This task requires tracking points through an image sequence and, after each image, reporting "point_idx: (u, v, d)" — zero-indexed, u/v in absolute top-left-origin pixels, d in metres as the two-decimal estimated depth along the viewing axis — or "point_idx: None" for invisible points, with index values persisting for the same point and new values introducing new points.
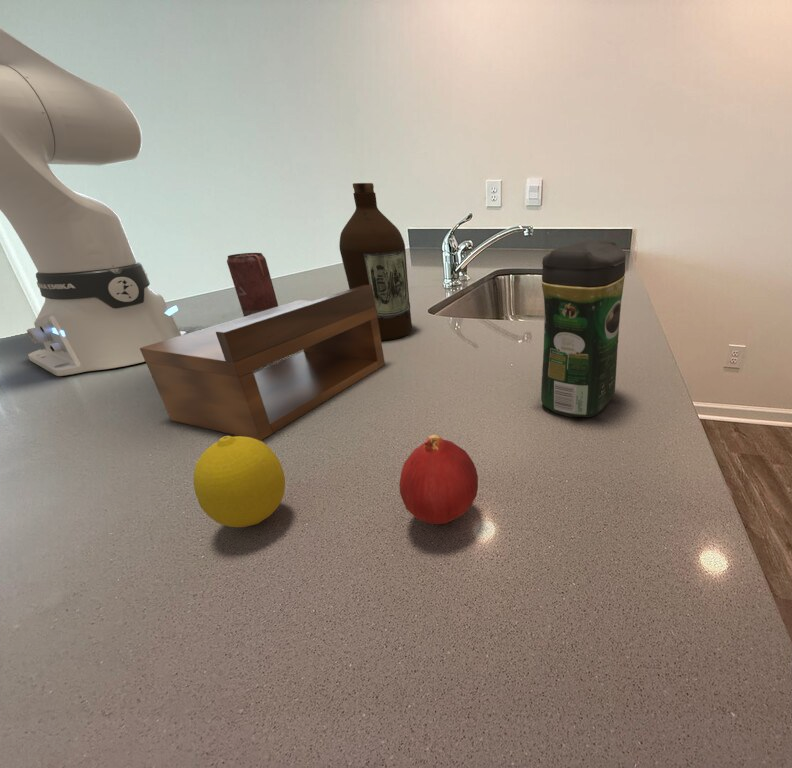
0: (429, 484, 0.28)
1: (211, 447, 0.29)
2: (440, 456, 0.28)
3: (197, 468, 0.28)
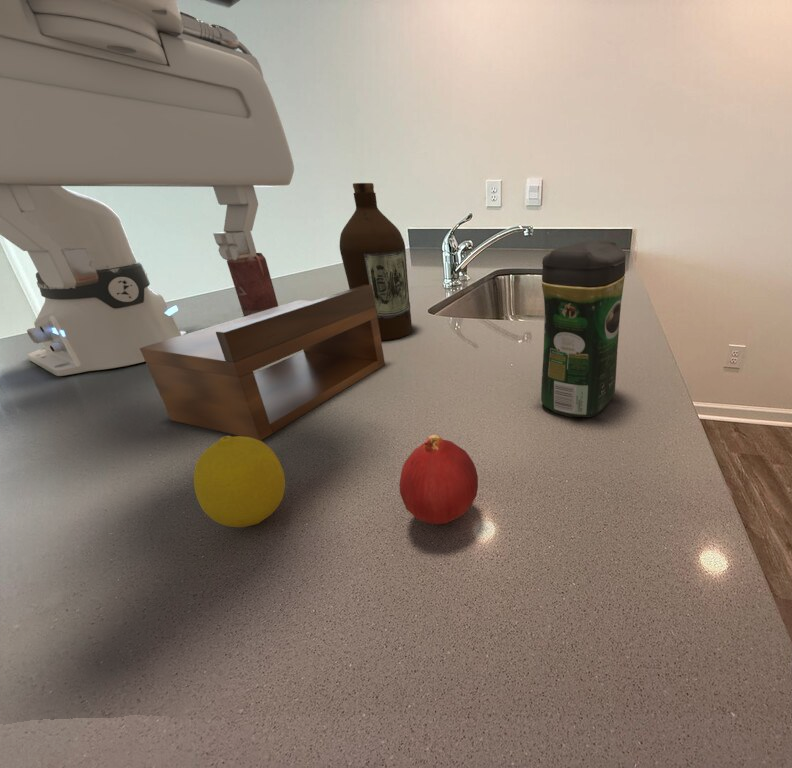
0: (429, 484, 0.28)
1: (211, 447, 0.29)
2: (440, 456, 0.28)
3: (197, 468, 0.28)
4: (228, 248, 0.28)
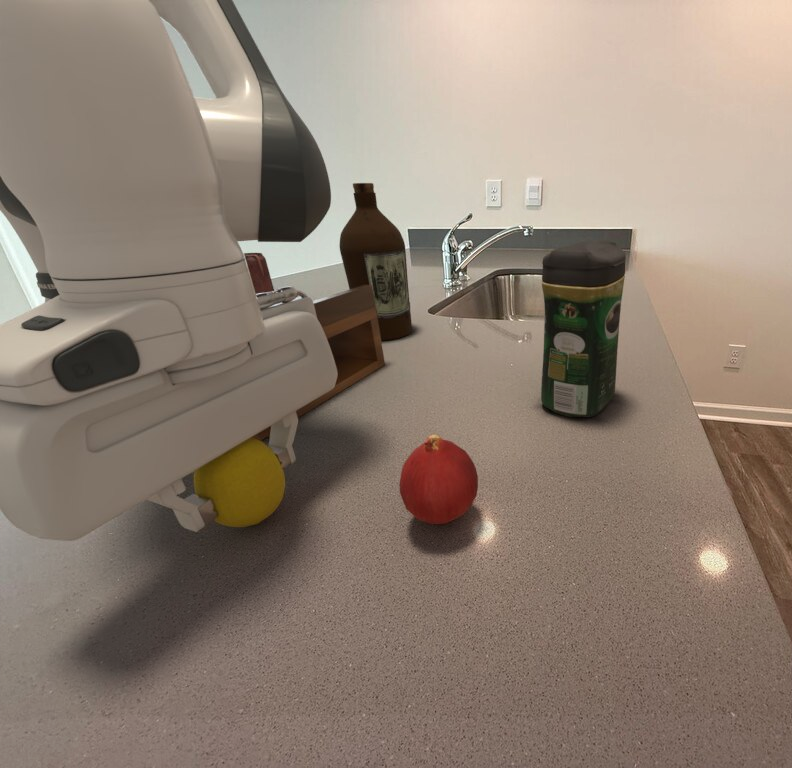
0: (429, 484, 0.28)
1: None
2: (440, 456, 0.28)
3: None
4: None
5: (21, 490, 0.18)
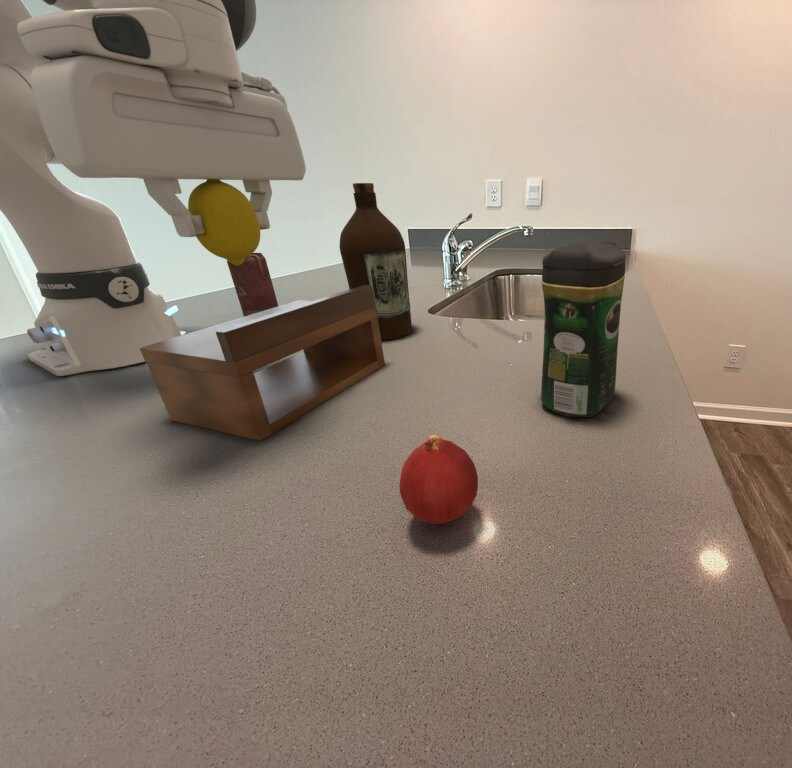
0: (429, 484, 0.28)
1: (201, 183, 0.38)
2: (440, 456, 0.28)
3: (191, 194, 0.37)
4: None
5: (70, 114, 0.27)
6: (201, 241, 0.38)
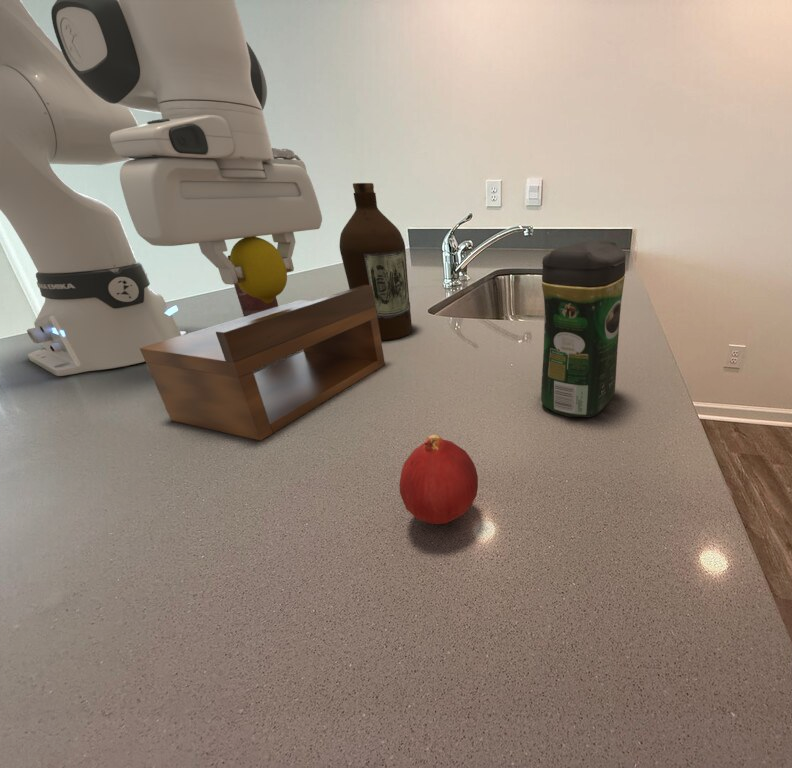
0: (429, 484, 0.28)
1: None
2: (440, 456, 0.28)
3: (232, 249, 0.45)
4: None
5: (151, 202, 0.36)
6: (240, 286, 0.47)
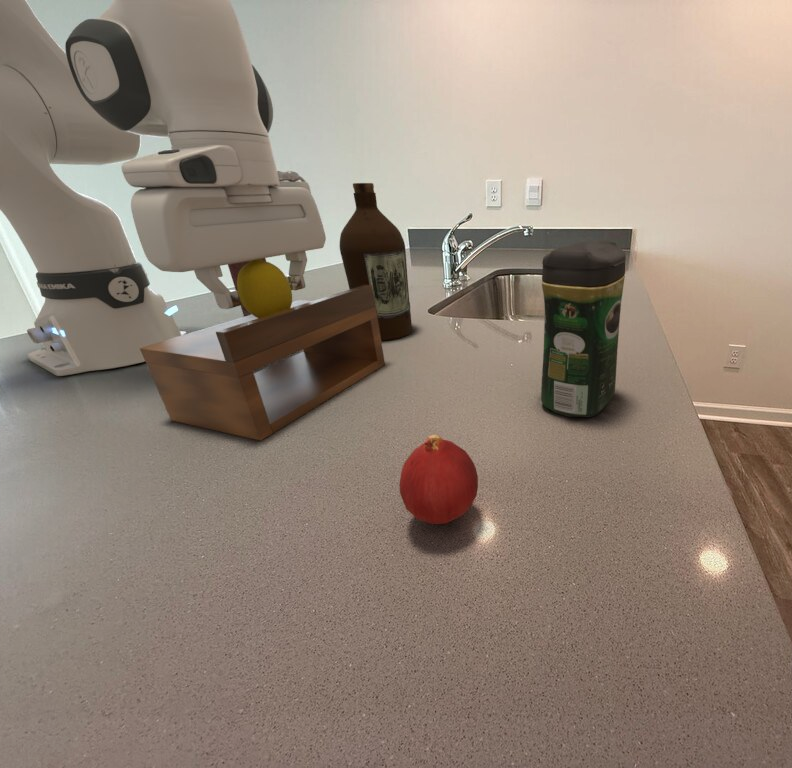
0: (429, 484, 0.28)
1: (247, 263, 0.47)
2: (440, 456, 0.28)
3: (239, 273, 0.46)
4: (291, 284, 0.52)
5: (162, 231, 0.37)
6: (247, 308, 0.48)
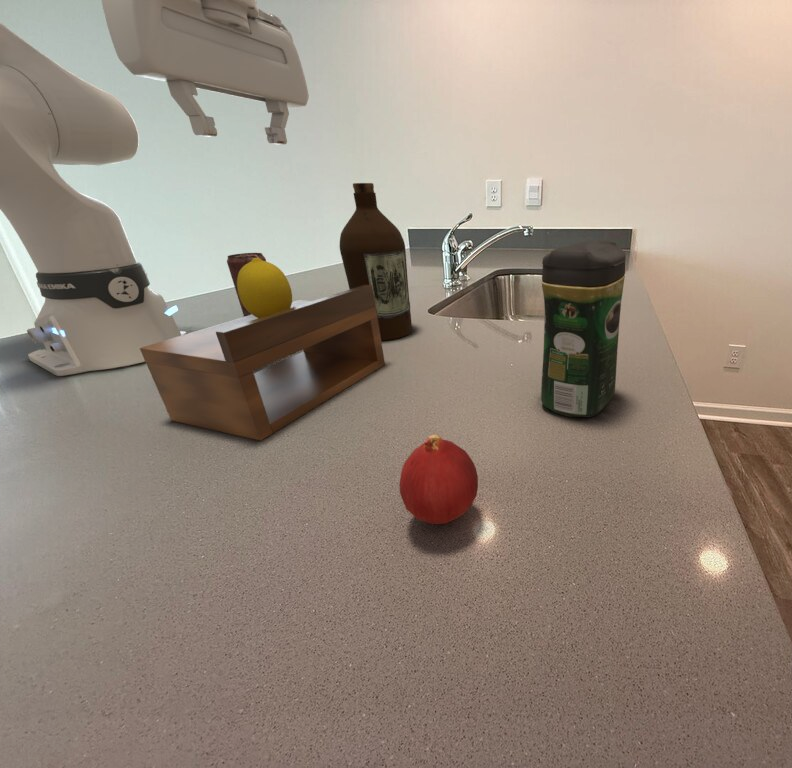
0: (429, 484, 0.28)
1: (247, 263, 0.47)
2: (440, 456, 0.28)
3: (239, 273, 0.46)
4: (272, 136, 0.52)
5: (131, 18, 0.36)
6: (247, 308, 0.48)
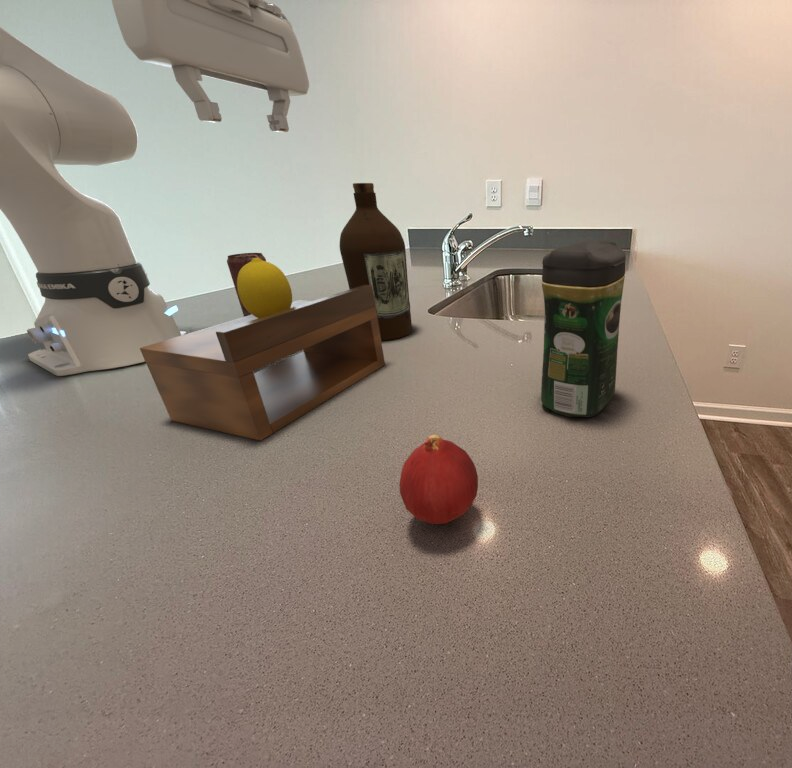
0: (429, 484, 0.28)
1: (247, 263, 0.47)
2: (440, 456, 0.28)
3: (239, 273, 0.46)
4: (274, 124, 0.53)
5: (138, 3, 0.37)
6: (247, 308, 0.48)
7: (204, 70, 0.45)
